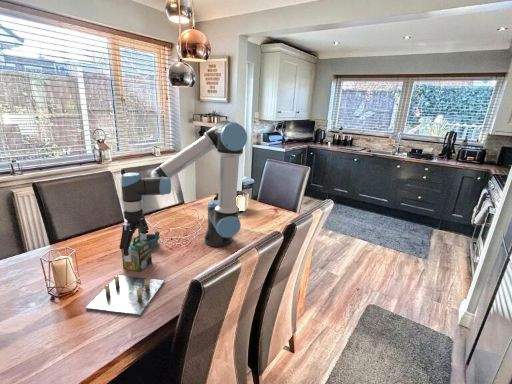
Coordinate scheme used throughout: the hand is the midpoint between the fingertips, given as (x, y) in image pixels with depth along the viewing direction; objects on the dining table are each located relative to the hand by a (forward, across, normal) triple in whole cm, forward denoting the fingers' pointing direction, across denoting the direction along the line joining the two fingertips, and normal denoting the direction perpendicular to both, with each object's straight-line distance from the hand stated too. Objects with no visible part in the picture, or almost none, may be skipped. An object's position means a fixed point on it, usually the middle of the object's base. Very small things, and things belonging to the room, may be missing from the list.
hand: (136, 253), depth 125 cm
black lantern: (+6, -82, +25) cm, 86 cm away
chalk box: (+6, 0, 0) cm, 6 cm away
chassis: (+6, +20, +7) cm, 22 cm away
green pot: (+6, -18, -3) cm, 19 cm away
